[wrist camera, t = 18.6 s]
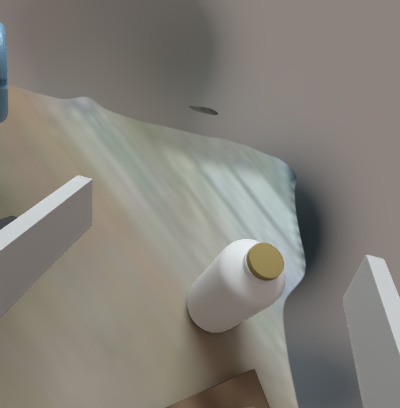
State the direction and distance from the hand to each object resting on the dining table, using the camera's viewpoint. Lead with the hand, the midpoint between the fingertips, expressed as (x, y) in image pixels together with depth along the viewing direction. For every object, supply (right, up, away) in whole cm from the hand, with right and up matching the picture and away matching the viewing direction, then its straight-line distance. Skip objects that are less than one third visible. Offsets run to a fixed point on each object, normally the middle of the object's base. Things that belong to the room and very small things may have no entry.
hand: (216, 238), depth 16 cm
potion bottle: (+1, -14, +35) cm, 37 cm away
